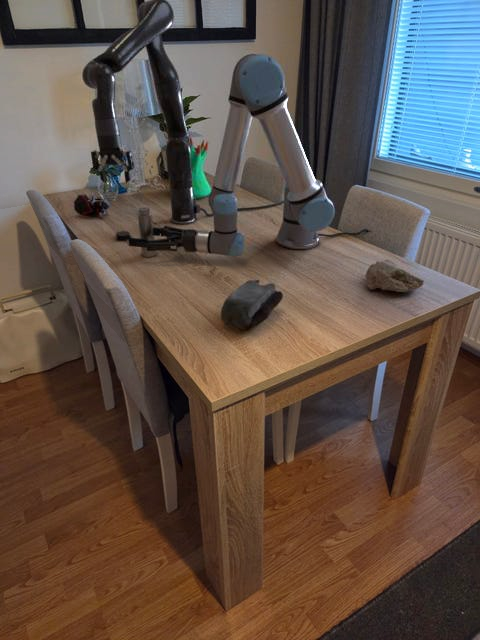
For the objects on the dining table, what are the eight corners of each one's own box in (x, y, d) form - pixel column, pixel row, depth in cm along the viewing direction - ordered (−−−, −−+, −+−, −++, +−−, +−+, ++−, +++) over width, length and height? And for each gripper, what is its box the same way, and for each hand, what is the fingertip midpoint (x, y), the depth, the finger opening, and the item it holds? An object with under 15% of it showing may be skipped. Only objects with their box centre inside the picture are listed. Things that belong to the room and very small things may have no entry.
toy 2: (167, 190, 223) (163, 137, 210) (207, 188, 227) (205, 135, 214) (172, 202, 206) (167, 145, 193) (214, 199, 210) (213, 143, 197)
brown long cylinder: (148, 258, 152) (143, 211, 144) (140, 254, 155) (134, 209, 146) (158, 254, 155) (153, 208, 147) (150, 251, 158) (145, 205, 149)
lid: (123, 235, 171) (122, 230, 170) (132, 237, 169) (132, 232, 168) (114, 239, 167) (113, 234, 166) (123, 241, 165) (122, 236, 164)
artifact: (384, 303, 127) (425, 296, 132) (391, 281, 123) (434, 275, 127) (349, 272, 141) (388, 267, 145) (355, 251, 136) (395, 247, 141)
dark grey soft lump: (254, 340, 110) (255, 313, 105) (215, 329, 114) (214, 302, 110) (284, 308, 123) (285, 283, 119) (248, 299, 128) (248, 274, 124)
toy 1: (101, 187, 180) (72, 186, 186) (93, 207, 178) (64, 205, 183) (117, 205, 191) (89, 203, 196) (109, 223, 188) (82, 221, 194)
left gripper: (82, 134, 146) (92, 184, 154) (124, 134, 144) (131, 185, 152) (92, 130, 152) (101, 179, 160) (132, 130, 150) (139, 179, 158)
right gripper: (187, 265, 141) (123, 259, 145) (207, 239, 160) (149, 234, 164) (186, 243, 137) (119, 237, 141) (206, 219, 156) (147, 214, 160)
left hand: (116, 181), depth 156 cm, fingers open, 8 cm apart
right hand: (135, 236), depth 152 cm, fingers open, 10 cm apart
